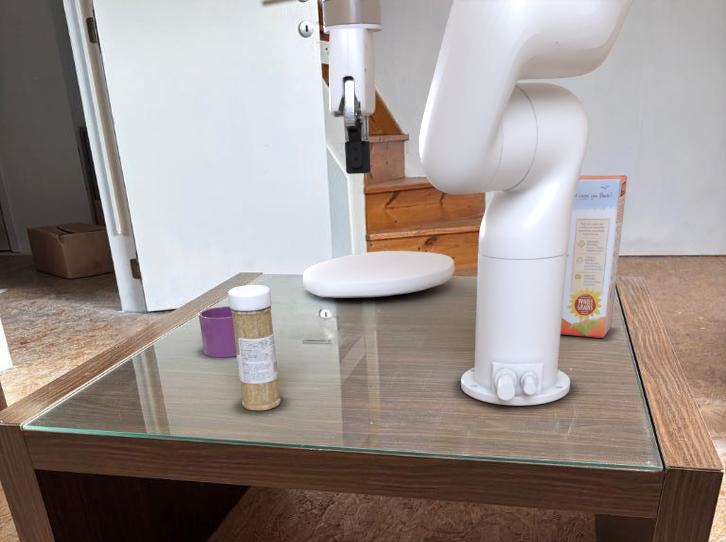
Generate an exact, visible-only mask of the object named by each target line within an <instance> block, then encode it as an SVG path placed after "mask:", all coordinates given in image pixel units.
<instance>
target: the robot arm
mask: <svg viewBox="0 0 726 542" xmlns="http://www.w3.org/2000/svg"><path fill="white" fill-rule="evenodd" d="M321 2H322V3H321V5H322V6H321V7H322V24H323V34H326V35H329V38H328V83H329V85H328V86H329V87H328V89H329V114H330V115H331V116H332V117H333V118H343V128H344V141H345V142H344V153H345V156H344V157H345V170H346V171H345V172H346V174H347V175H357V174H359V175H360V174H368V173H370V172H371V143H370V139H369V138H370V135H369V131H370V129H369V128H370V127H369V116H371V115H373V114H374V113H375V111H376V67H375V66H376V65H375V44H374V43H375V41H374V33H378V32H381V31H382V29H383V27H382V26H383V25H382V3H381V2H382V0H321ZM633 3H634V0H453V1H452V3H451V7H450V10H449V15H448V17H447V22H446V25H445V29H444V33H443V37H442V41H441V43H440V44H441V45H440V48H439V52H438V56H437V60H436V64H435V68H434V72H433V76H432V79H431V83H430V87H429V91H428V95H427V98H426V103H425V107H424V110H423V115H422V121H421V125H420V133H419V143H418V144H419V146H418V147H419V148H418V149H419V158H420V164H421V168H422V171H423V173H424V175H425V178H426V179H427V180H428V182H429V184H430V185H432V186H433V187H434V188H435V189H436V190H438V191H439V192H442V193H444V194H449V195H458V196H459V195H475V194H483V193H491V192H493V194H492V196H491V198H490V200H489V201H488V204H487V207H486V209H485V211H484V214H483V217H482V220H481V222H480V223H481V224H480V229H479V234H478V248H477V275H476V276H477V278H476V279H477V280H476V304H475V305H476V307H475V309H476V310H475V311H476V312H475V342H474V367H472V368H469V369H467V370H466V371H465V372H464V373H463V374H462V376H461V377H460V388H461V390H462V391H463V392H464V393H465V394H466V395H468V396H469V397H471V398H473V399H475V400H478V401H480V402H484V403H489V404H493V405H501V406H513V407H517V406H518V407H520V406H521V407H522V406H523V407H524V406H537V405H543V404H548V403H552V402H555V401H558V400H560V399H562V398H563V397H565V396H567V394H568V393H569V392H570V389H571V378H570V377H569V376H568V375H567V374H566V373H565V372H563V371H561V370H560V369H559V368H558V367H559V357H560V356H559V355H560V354H559V353H560V344H561V343H560V342H561V334H560V333H561V321H562V310H563V298H564V286H565V275H566V263H567V252H568V245H569V234H570V224H571V216H572V209H573V202H574V197H575V192H576V187H577V183H578V179H579V176H581V172H582V169H583V165H584V160H585V156H586V153H587V148H588V142H589V120H588V119H589V118H588V115H587V111H586V109H585V107H584V104H583V103H582V101H581V99H580V98H579V97H578V96H577V95H576V94H575V93H574V92H572V91H571V90H570V89H568V88H566V87H564V86H562V85H558V84H554V83H550V82H549V83H548V82H518V81H523V80H524V81H527V80H552V79H553V80H554V79H567V78H575V77H582V76H585V75H588V74H590V73H592V72H593V71H595V70H596V69H597V68H599V67H600V66H601V65H602V64H603V63H604V62H605V60H606V59H607V58H608V56H609V55H610V53H611V51H612V49H613V48H614V45H615V43H616V41H617V39H618V37H619V35H620V32H621V29H622V28H623V25H624V23H625V21H626V18H627V16H628V14H629V11H630V9H631V7H632V4H633Z"/></svg>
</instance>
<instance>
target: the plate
mask: <svg viewBox="0 0 726 542" xmlns="http://www.w3.org/2000/svg"><path fill="white" fill-rule="evenodd" d="M455 268H456V267H455V260H454V259H453V258H452V257H451V256H449V255H446V254H443V253H436V252H429V251H427V252H426V251H412V250H381V251H368V252H362V253H354V254H347V255H343V256H339V257H336V258H335V257H334V258H331V259H328V260H324V261H322V262H319V263H316V264H313V265H312V266H311V265H310V266H309V267H308V268H307V269H306V270H304V272H303V274H302V285H303V288H304V289H305V290H306V291H307V292H309V293H311V294H313V295H314V296H318V297H319V298H336V299H339V298H341V299H343V298H344V299H345V298H347V299H354V298H377V297H389V296H394V295H395V296H396V295H404V294H409V293H411V294H412V293H414V292H421V291H424V290H427V289H431V288H435V287H437V286H440V285H443V284H444V283H447V282H448V281H450V280H451V279H452V277H453V276H454V273H455V270H456V269H455Z"/></svg>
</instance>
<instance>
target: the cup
mask: <svg viewBox="0 0 726 542" xmlns="http://www.w3.org/2000/svg"><path fill="white" fill-rule="evenodd" d="M198 320H199V327H200V333H201V341H202V346H203V353H204V354H205V356H208V357H212V358H232V357H237V351H236V342H235V334H234V325H233V317H232V312H231V308H230V306H229V305H226V306H216V307H211V308H207V309H204V310H201V311H200V312H199V313H198Z"/></svg>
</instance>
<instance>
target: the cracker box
mask: <svg viewBox="0 0 726 542" xmlns="http://www.w3.org/2000/svg"><path fill="white" fill-rule="evenodd" d="M627 182H628V176H627V175H626V174H621V175H619V174H617V175H580V176H579V179H578V183H577V187H576V192H575V197H574V202H573V209H572V216H571V224H570V234H569V245H568V252H567V263H566V275H565V286H564V298H563V310H562V321H561V333H560V335H564V336H566V335H567V336H575V337H576V336H577V337H585V338H586V337H587V338H597V339H599V338H600V339H601V338H602V339H604V337H605V336H606V335H607V333H608V332H609V331H610V329H612V323H613V312H614V303H615V295H616V288H617V287H616V285H617V279H618V278H617V277H618V268H619V258H620V249H621V239H622V231H623V223H624V213H625V205H626V204H625V203H626V193H627V185H628V183H627Z"/></svg>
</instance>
